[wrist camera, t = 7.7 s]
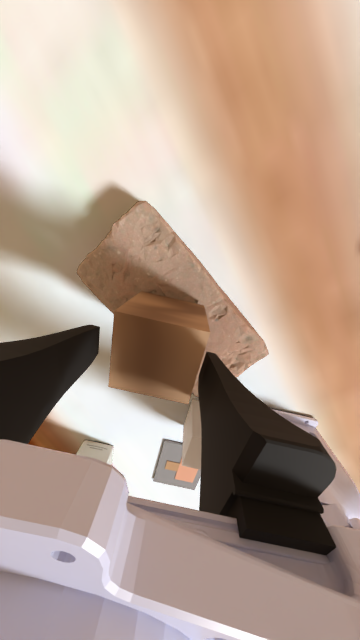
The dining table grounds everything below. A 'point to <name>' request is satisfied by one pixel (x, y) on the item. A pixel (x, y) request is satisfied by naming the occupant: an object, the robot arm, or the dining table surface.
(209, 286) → the brick
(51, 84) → the dining table surface
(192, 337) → the walnut block
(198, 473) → the card
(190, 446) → the cream cube
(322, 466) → the robot arm
